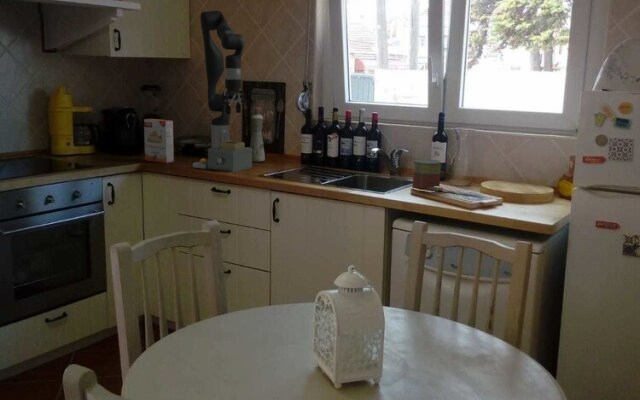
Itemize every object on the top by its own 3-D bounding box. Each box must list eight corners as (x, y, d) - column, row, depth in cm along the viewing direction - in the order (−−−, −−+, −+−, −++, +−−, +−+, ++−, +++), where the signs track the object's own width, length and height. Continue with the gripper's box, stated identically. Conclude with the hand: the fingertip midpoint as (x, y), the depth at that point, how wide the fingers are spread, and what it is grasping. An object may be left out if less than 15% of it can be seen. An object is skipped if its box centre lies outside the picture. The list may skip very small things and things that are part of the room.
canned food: (436, 187, 282) (438, 159, 279) (441, 192, 271) (443, 163, 268) (410, 187, 281) (411, 159, 279) (414, 192, 270) (416, 163, 268)
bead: (202, 166, 317) (202, 157, 316) (209, 166, 315) (209, 158, 314) (197, 167, 313) (197, 158, 312) (204, 167, 312) (204, 159, 311)
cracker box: (144, 160, 331) (143, 119, 327) (152, 159, 337) (151, 118, 332) (166, 163, 325) (165, 120, 321) (174, 162, 330) (173, 120, 326)
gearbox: (227, 165, 324) (227, 140, 321) (252, 168, 317) (252, 142, 315) (205, 170, 308) (205, 143, 305) (230, 173, 302) (230, 146, 299)
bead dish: (201, 166, 319) (201, 161, 318) (213, 167, 316) (213, 162, 315) (192, 168, 313) (192, 163, 312) (205, 169, 310) (204, 164, 309)
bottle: (257, 163, 333) (257, 107, 328) (244, 161, 339) (244, 106, 333) (268, 161, 340) (269, 107, 334) (255, 159, 345) (256, 105, 340)
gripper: (234, 77, 314) (235, 111, 318) (217, 78, 302) (218, 114, 305) (248, 78, 311) (248, 112, 314) (231, 79, 298) (231, 115, 302)
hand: (233, 113), depth 310 cm, fingers open, 8 cm apart
